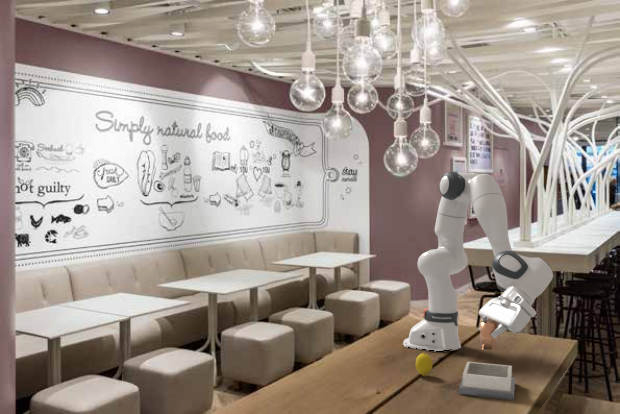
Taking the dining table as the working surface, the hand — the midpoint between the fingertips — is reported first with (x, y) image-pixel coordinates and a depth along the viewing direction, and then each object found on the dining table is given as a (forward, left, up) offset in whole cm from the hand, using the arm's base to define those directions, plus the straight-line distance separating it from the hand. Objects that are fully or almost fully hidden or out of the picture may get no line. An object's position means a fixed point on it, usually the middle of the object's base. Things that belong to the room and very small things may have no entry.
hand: (486, 334), depth 192 cm
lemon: (-21, +6, -18) cm, 28 cm away
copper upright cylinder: (+1, 0, -4) cm, 4 cm away
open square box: (0, 0, -17) cm, 17 cm away
